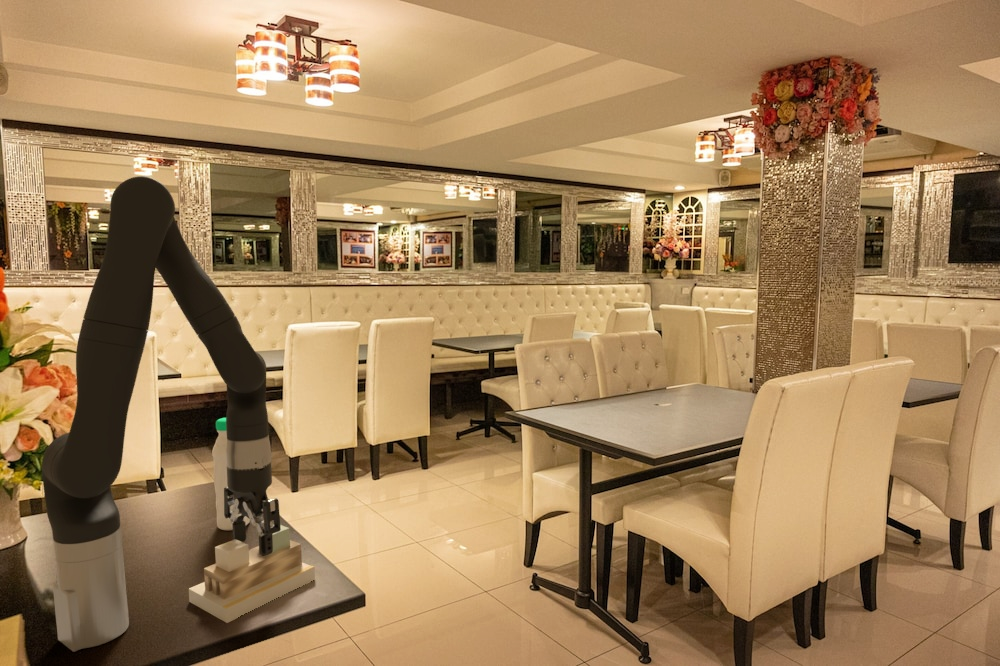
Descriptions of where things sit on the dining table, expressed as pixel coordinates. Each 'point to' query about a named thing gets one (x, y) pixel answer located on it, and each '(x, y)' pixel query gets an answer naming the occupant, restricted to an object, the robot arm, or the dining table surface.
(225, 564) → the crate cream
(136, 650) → the dining table surface
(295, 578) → the dock
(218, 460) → the water bottle
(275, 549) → the block
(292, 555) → the pallet
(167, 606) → the dining table surface
